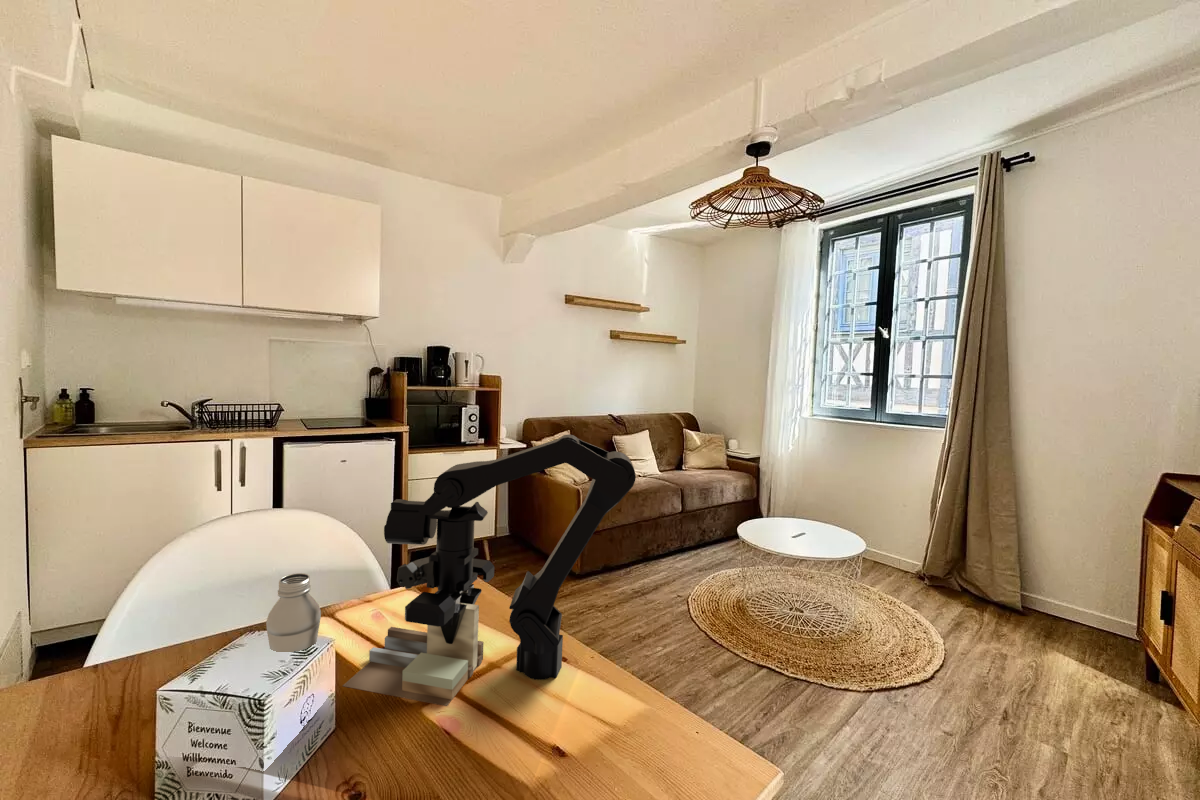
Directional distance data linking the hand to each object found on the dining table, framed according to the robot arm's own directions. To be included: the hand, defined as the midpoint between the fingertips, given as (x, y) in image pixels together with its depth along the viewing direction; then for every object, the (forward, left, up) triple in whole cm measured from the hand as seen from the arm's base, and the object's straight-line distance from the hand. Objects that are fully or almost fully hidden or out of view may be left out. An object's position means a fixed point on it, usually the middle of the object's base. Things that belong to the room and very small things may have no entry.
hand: (452, 640), depth 81 cm
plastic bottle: (+15, +16, -6) cm, 23 cm away
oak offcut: (0, +5, -4) cm, 7 cm away
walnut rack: (+4, +3, -5) cm, 8 cm away
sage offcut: (0, +5, -3) cm, 6 cm away
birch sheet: (0, 0, -4) cm, 4 cm away
